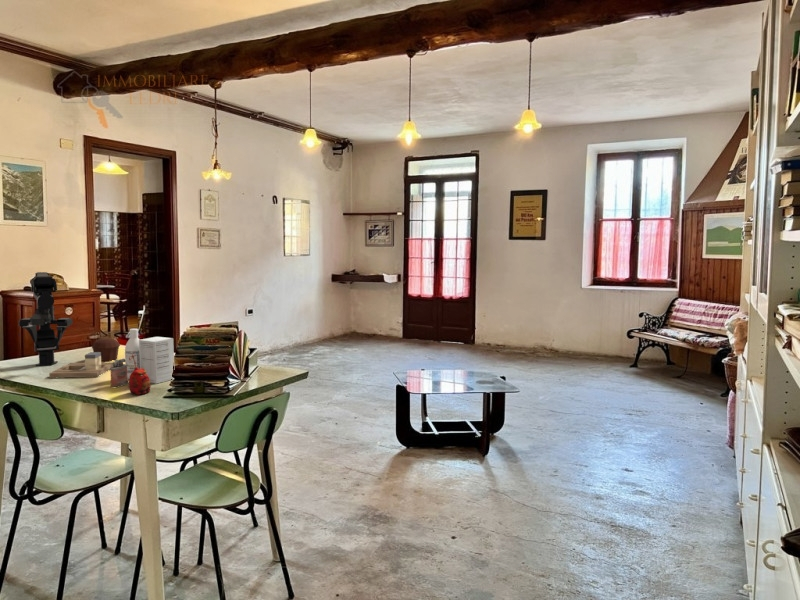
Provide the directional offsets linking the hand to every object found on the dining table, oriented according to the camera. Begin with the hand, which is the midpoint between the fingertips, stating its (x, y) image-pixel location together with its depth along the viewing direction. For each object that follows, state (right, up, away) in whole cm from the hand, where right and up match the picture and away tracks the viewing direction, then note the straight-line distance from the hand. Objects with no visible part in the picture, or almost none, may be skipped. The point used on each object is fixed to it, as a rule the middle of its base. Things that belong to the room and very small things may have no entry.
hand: (47, 342), depth 231 cm
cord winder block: (+20, -13, -1) cm, 24 cm away
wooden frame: (+16, -13, -1) cm, 21 cm away
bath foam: (+42, -14, -9) cm, 45 cm away
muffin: (+13, -10, +23) cm, 28 cm away
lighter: (+41, -15, -21) cm, 49 cm away
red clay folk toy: (+54, -16, -31) cm, 64 cm away
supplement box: (+52, -14, -12) cm, 56 cm away
